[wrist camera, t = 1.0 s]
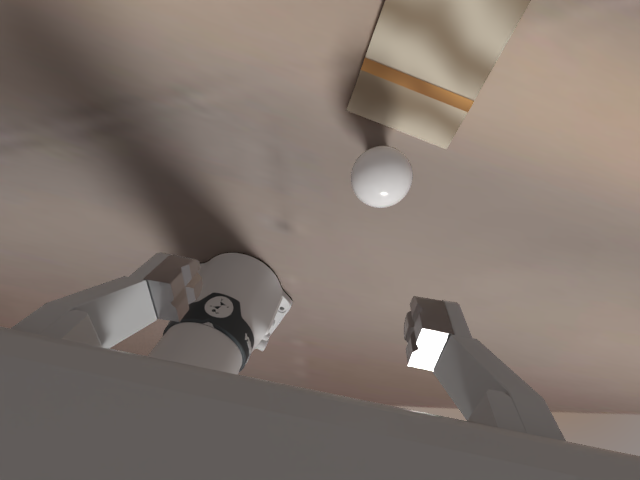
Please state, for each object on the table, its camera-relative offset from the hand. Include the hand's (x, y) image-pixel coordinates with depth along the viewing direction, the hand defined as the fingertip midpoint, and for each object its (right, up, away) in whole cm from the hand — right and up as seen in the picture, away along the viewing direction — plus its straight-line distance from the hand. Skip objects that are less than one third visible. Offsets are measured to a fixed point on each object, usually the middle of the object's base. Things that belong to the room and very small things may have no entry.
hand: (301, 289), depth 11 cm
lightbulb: (+8, +12, +26) cm, 30 cm away
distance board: (+13, +23, +19) cm, 33 cm away
